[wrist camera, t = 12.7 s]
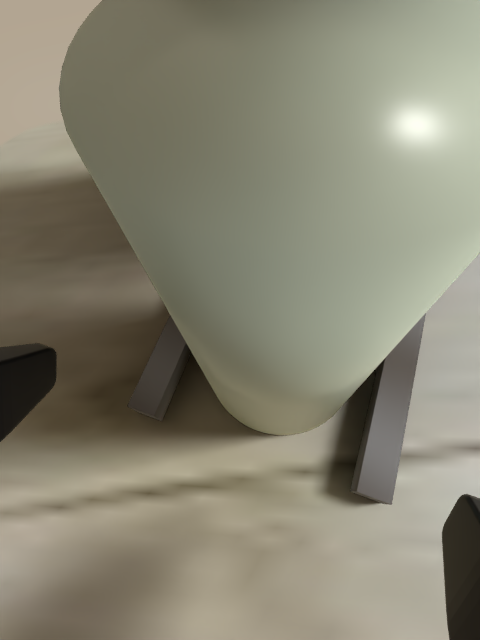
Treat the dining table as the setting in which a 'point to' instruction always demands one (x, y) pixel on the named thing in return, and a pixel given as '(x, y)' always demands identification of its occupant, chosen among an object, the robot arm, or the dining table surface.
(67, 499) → the dining table surface
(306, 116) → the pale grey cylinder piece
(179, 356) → the walnut overhang
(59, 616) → the dining table surface
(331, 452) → the dining table surface
